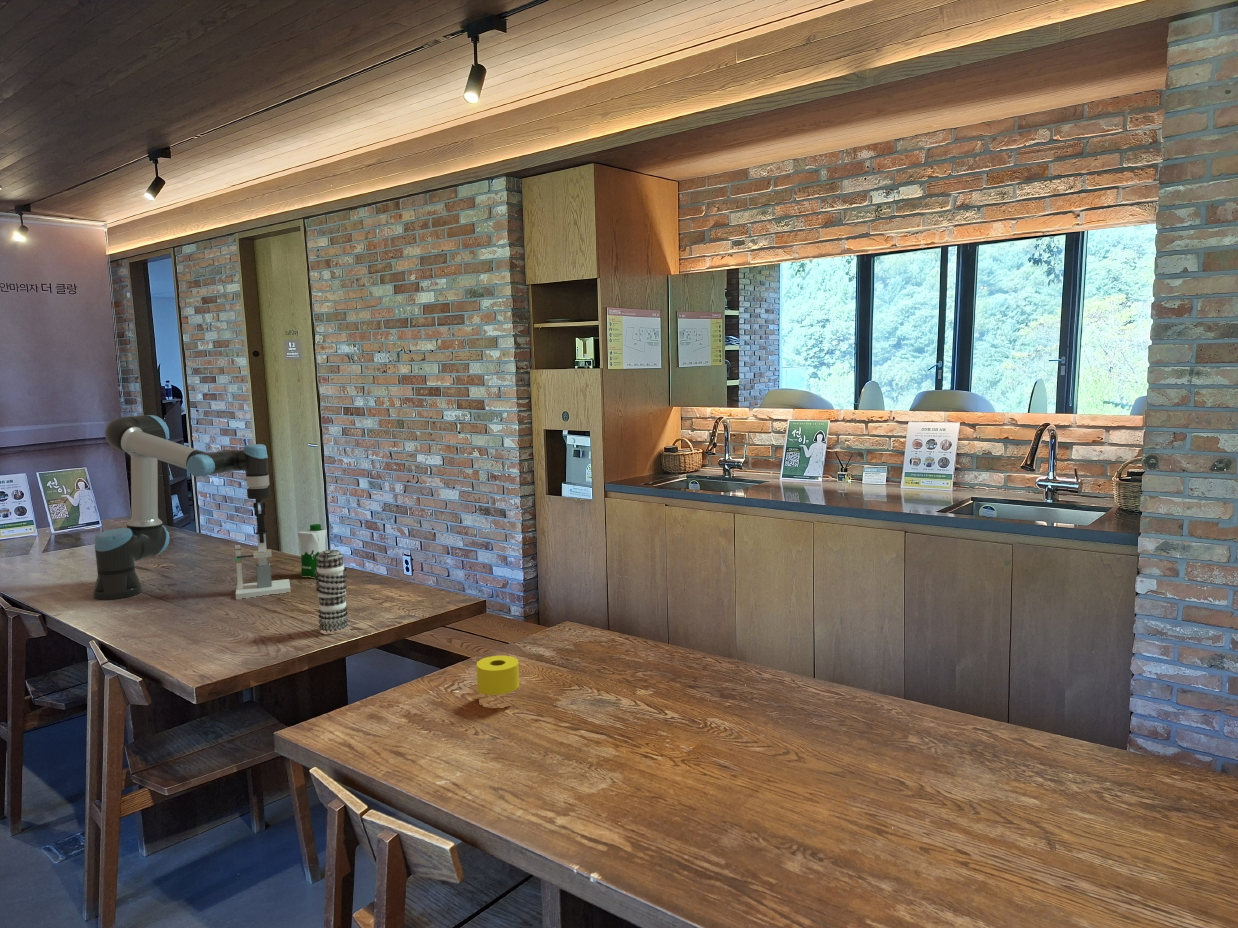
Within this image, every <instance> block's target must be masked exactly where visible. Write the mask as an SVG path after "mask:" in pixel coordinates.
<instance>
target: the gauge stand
mask: <svg viewBox="0 0 1238 928" xmlns="http://www.w3.org/2000/svg"><path fill="white" fill-rule="evenodd" d="M234 547H235V548H234V552H235V558H234V559H235V565H236V575H237V577H236V579H237V584H236V587H235V599H236V600H243V599H242V598H246V599H251V598H250V597H254V598H257V597H256V596H262V595H269V594H279V593H286V592H291V584H290V579H289V578H287V579H278V580H275V579H274V580H273V579H272V567H271V563H270V562H268V565H267V566H259V563H257V564H255V570H256V582H250V583H244V582H243V580H244V579H243V569H242V567H243V566H242V562H243V561H242V558H237V556H242V552H241V545H240V544H238V545H237V544H236V545H234ZM291 593H292V592H291Z"/></svg>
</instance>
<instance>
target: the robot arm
mask: <svg viewBox="0 0 1238 928" xmlns="http://www.w3.org/2000/svg"><path fill="white" fill-rule="evenodd" d="M104 435H105V440H106V441H107V443H108V444H109V446H111V447H112V448H113V449H115V450H119V451H121V452H125V453H127V454H128V455H129V456H130V483H131V484H130V491H131V492H130V494H131V495H130V498H131V499H130V500H131V502H130V503H131V504H130V505H131V507H130V508H131V511H130V512H131V518H130V519H129V520H128V521H127V523H126V527H119V528H113V529H108V530H104V531H102V532H99V533H98V534H97V535H96V536H95V537H94V545H93V546H94V552H95V561H96V570H97V577H96V581H95V585H94V588H93V598H94V599H96V600H117V599H124V598H129V597H132V596H136V595H138V594H141V593H142V592H143V584H142V582H141V581H140V577H139V576H138V574H137V572H136V567H135V565H136V564H135V562H136V561H140V560H143V559H147V558H151V557H155V556H156V555H159V554H161V553H163V552H165V550H166V549H167V548H168V546H169V543H170V537H171V536H170V533H169V531H168V529H167V527H166V526H165V525H163V521H162V520H161V519H160V518H159V509H158V508H159V506H158V502H159V501H158V499H159V498H158V497H159V495H158V493H159V492H158V485H159V484H158V480H159V479H158V460H159V461H161V462H163V463H167V464H170V465H173V466H177V467H179V468H181V469H182V468H183V469H185V470H187V472H189V473H190V474H191V475H192V476H194V477H207V476H210V475H211V476H212V475H217V474H221V473H227V472H236V471H237V472H240V471H243V472H244V471H245V478H244V479H243V481H244V482H246V487H247V489H246V497H247V499H248V500H255V502H253V504H252V505H253V510H254V516H255V517H256V530H257V531H256V532H255V533H254V534H255V535H257V537H256V538H257V548H258V549H257V551H259V552H263V551H267V550H268V549H267V536H266V533H268V530H266V527H265V515H266V502H265V501H264V502H263V499H268V498H270V496H271V492H270V491H271V490H270V489H271V488H270V487H269V486H270V474H269V466H268V465H269V464H268V463H269V461H268V458H269V456H268V452H267V450H268V449H267V446H266V445H265V444H262V443H260V444H259V443H257V444H256V443H253V444H245V445H244V446H243V449H221V450H217V451H216V452H205V451H202V450H199V449H195V448H193V447H190V446H187V445H185V444H181V443H178V442H175V441H171V440H169V438H170V429H169V427H168V425H167V423H166V421H164V419H162V418H161V417H159V416H157V415H151V414H148V415H147V414H146V415H145V414H142V415H131V416H119V417H117V418H114V419H113V420H111V421H110V422H109V423H108V424H107V426H106V427H105V431H104Z"/></svg>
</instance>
